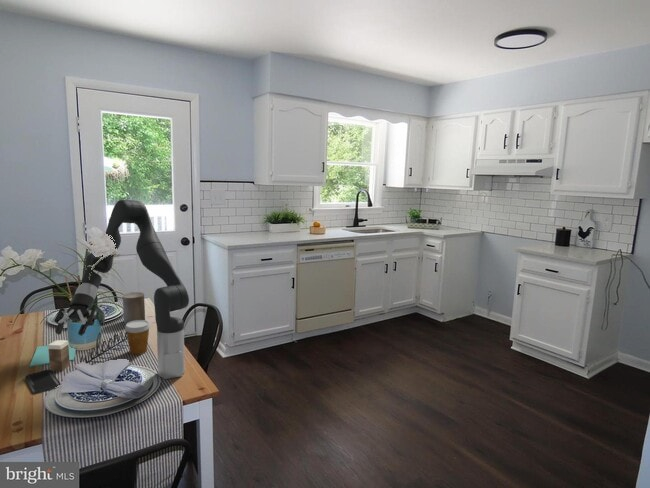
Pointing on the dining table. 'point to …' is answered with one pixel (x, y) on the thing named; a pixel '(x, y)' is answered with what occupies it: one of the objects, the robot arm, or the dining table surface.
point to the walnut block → (58, 355)
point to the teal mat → (47, 356)
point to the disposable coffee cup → (137, 336)
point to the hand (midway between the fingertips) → (68, 334)
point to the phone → (42, 381)
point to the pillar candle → (133, 307)
